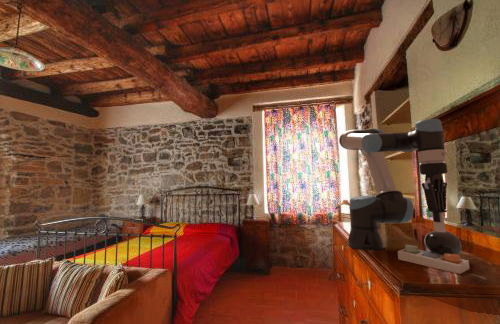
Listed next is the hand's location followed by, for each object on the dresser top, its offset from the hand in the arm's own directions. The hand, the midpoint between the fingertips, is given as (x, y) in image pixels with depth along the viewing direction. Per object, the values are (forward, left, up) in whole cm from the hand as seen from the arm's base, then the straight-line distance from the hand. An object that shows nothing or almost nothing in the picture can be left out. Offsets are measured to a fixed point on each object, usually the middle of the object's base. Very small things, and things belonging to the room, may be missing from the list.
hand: (439, 231), depth 78 cm
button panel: (-4, +1, -12) cm, 13 cm away
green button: (-10, +1, -10) cm, 14 cm away
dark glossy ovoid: (-4, +16, -8) cm, 19 cm away
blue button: (-4, +1, -11) cm, 11 cm away
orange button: (+2, +1, -10) cm, 10 cm away
